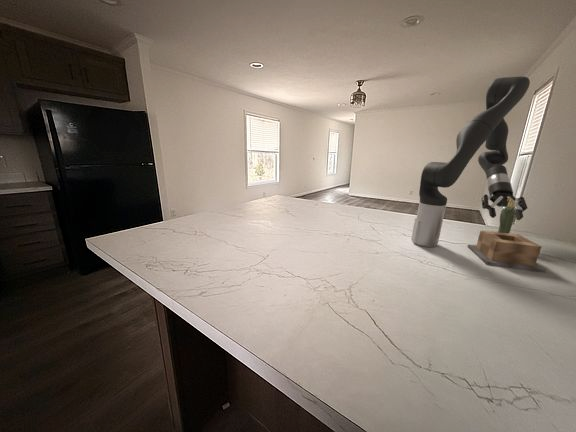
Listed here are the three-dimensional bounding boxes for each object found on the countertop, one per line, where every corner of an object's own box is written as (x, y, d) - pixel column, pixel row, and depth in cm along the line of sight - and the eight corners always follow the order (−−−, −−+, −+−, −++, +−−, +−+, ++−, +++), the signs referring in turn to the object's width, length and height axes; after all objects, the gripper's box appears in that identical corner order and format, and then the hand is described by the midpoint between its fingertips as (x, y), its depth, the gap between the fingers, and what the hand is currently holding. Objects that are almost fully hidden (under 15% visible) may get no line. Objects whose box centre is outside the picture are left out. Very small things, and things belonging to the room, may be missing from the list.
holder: (486, 264, 79) (492, 242, 76) (467, 246, 93) (472, 228, 91) (545, 272, 74) (554, 250, 72) (516, 252, 89) (522, 233, 86)
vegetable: (508, 247, 94) (523, 199, 88) (496, 246, 95) (510, 198, 89) (501, 243, 98) (514, 197, 93) (489, 242, 99) (502, 196, 93)
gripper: (484, 180, 99) (490, 211, 92) (525, 182, 95) (535, 215, 88) (475, 190, 106) (481, 220, 98) (513, 192, 102) (522, 224, 94)
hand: (506, 218), depth 93 cm, fingers open, 8 cm apart
